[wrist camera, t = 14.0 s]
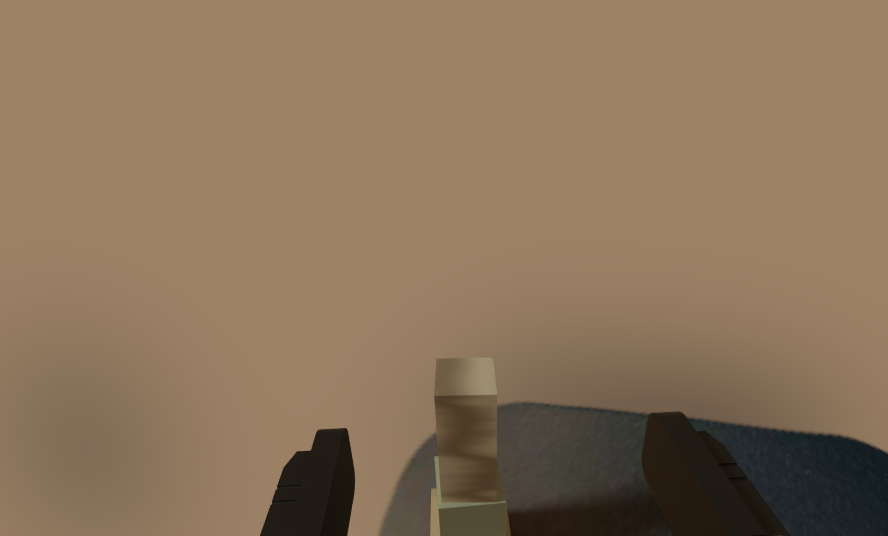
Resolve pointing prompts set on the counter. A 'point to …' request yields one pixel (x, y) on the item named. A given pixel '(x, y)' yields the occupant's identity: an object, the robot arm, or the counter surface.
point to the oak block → (435, 515)
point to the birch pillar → (466, 429)
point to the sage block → (472, 514)
